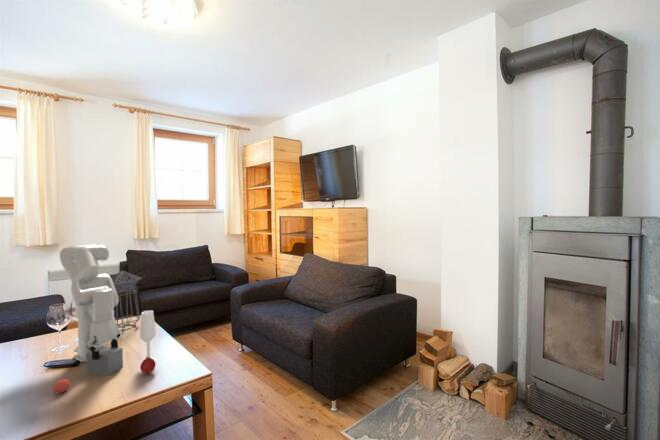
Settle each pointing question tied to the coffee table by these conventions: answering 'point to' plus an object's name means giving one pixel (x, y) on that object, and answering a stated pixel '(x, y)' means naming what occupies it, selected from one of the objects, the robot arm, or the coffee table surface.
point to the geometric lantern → (126, 296)
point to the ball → (61, 386)
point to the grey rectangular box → (105, 361)
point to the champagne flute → (147, 329)
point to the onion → (147, 365)
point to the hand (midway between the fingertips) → (105, 354)
